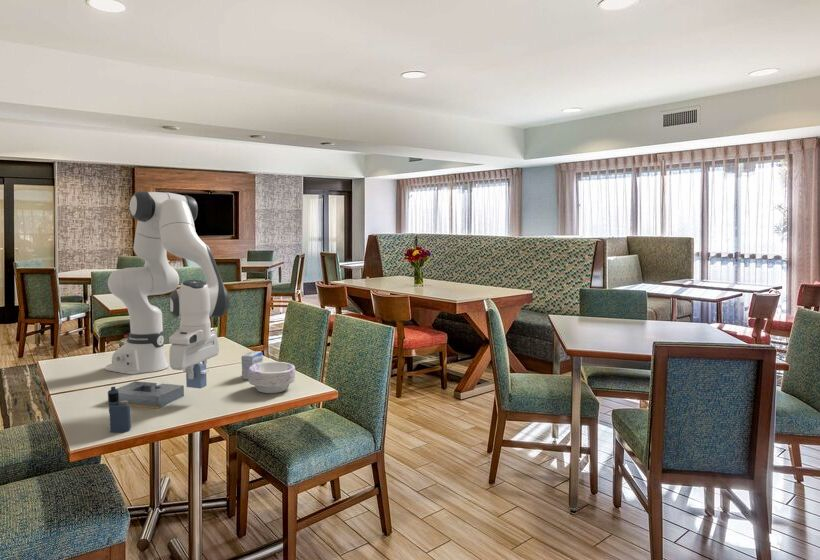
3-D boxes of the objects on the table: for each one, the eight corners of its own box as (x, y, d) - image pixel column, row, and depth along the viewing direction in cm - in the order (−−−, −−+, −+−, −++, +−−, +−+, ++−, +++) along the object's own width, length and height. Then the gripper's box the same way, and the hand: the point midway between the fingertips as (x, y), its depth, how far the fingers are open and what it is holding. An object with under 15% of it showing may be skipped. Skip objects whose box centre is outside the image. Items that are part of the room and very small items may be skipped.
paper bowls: (303, 390, 182) (303, 367, 181) (260, 399, 172) (259, 375, 172) (283, 380, 194) (283, 358, 193) (241, 388, 184) (241, 365, 183)
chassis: (106, 403, 166) (106, 392, 166) (135, 391, 179) (135, 381, 178) (157, 408, 163) (157, 397, 162) (183, 396, 175) (183, 385, 174)
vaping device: (112, 429, 146) (110, 385, 145) (132, 428, 147) (130, 385, 146) (108, 432, 144) (105, 388, 142) (128, 432, 144) (126, 388, 143)
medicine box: (253, 380, 194) (252, 356, 193) (241, 379, 194) (241, 355, 194) (263, 374, 201) (262, 351, 200) (252, 373, 202) (251, 350, 201)
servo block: (183, 386, 168) (182, 362, 167) (189, 383, 171) (188, 359, 170) (203, 388, 167) (203, 364, 166) (209, 386, 170) (209, 361, 169)
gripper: (206, 325, 178) (206, 366, 179) (164, 339, 158) (166, 384, 159) (223, 327, 176) (224, 368, 178) (184, 340, 156) (184, 387, 158)
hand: (196, 376), depth 169 cm, fingers closed on servo block, 3 cm apart
